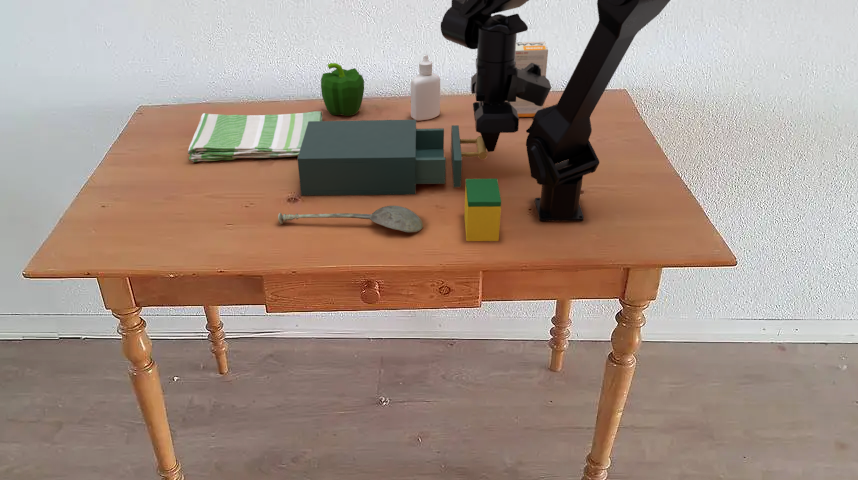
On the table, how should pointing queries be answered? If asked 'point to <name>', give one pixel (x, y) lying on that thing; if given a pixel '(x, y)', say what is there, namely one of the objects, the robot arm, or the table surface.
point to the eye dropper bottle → (425, 92)
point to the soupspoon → (374, 218)
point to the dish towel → (249, 136)
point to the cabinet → (358, 158)
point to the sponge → (482, 210)
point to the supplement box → (523, 58)
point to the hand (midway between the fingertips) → (490, 150)
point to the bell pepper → (342, 90)
